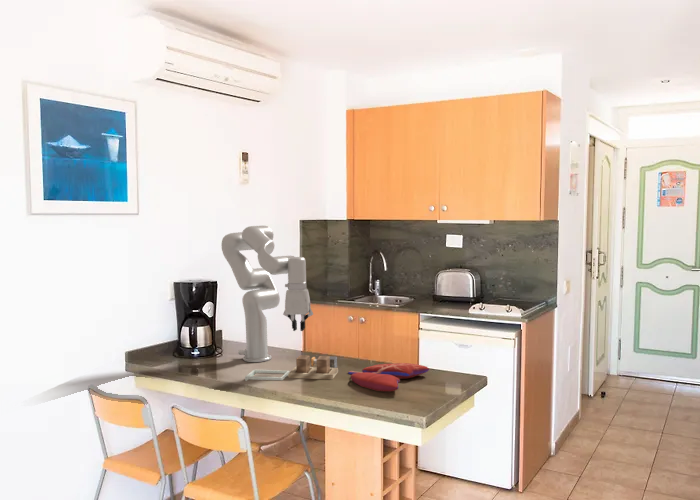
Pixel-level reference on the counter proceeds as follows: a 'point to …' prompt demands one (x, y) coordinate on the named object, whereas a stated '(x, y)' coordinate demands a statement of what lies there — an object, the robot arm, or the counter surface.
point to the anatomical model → (386, 375)
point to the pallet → (313, 374)
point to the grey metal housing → (333, 362)
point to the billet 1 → (303, 364)
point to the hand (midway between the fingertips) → (298, 330)
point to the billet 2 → (323, 364)
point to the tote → (250, 376)
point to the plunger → (313, 361)
